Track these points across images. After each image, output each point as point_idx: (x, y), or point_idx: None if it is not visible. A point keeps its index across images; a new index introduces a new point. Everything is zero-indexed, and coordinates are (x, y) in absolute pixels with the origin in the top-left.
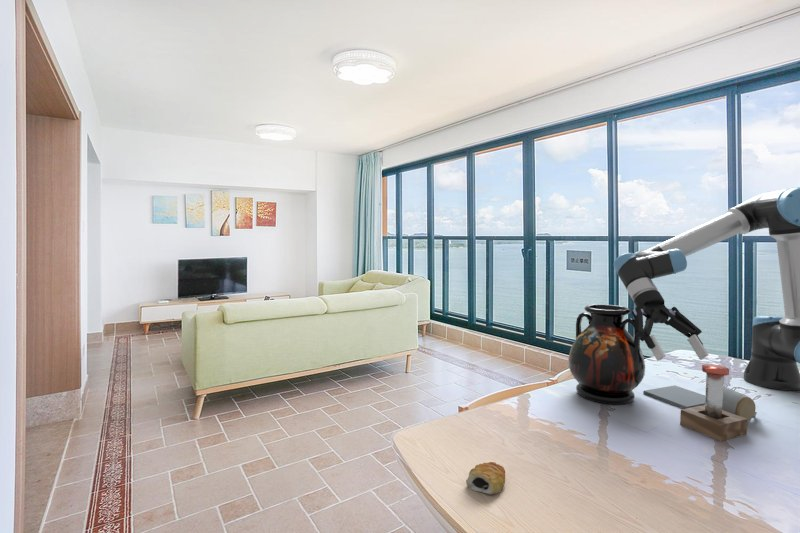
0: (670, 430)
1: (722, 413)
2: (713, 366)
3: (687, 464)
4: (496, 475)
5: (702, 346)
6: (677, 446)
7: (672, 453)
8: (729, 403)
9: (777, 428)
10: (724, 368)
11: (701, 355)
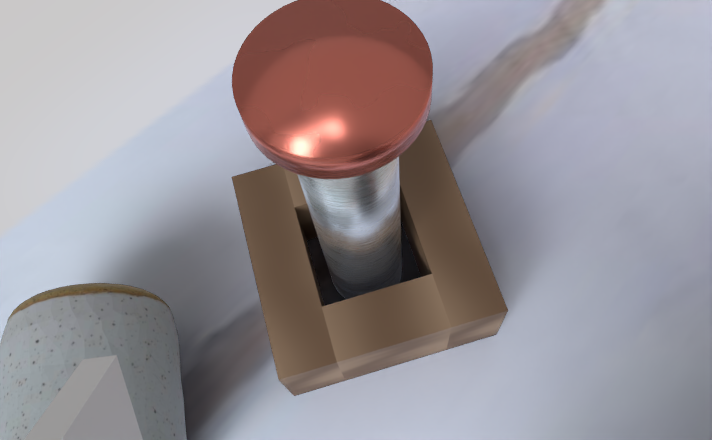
0: (593, 271)
1: (300, 245)
2: (323, 94)
3: (693, 11)
4: None
5: (40, 437)
6: (653, 126)
7: (708, 77)
8: (158, 334)
9: (40, 264)
10: (276, 44)
11: (126, 429)
